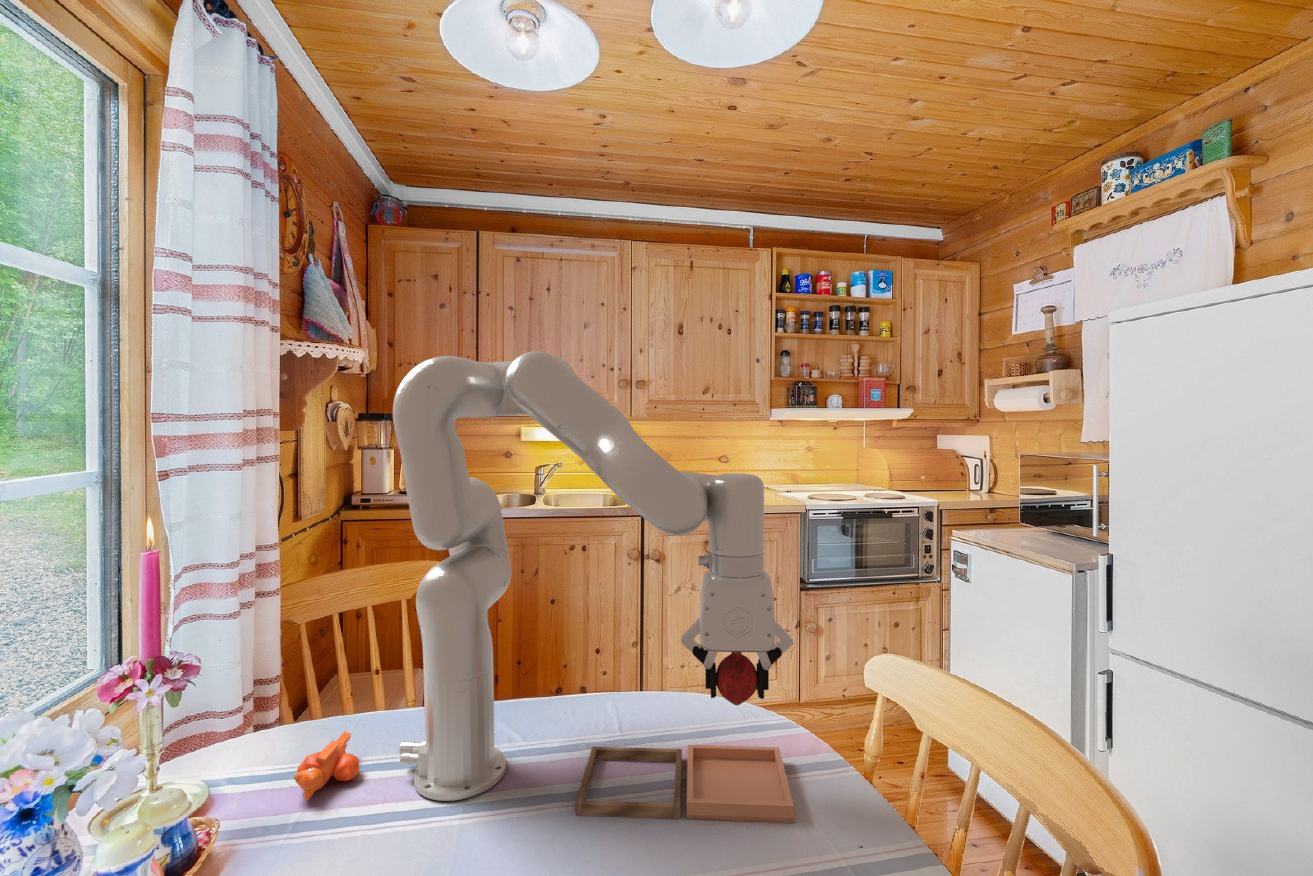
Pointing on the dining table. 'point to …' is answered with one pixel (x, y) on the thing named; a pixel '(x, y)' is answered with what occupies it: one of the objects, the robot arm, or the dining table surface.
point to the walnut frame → (621, 806)
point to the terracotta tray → (737, 784)
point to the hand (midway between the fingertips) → (736, 692)
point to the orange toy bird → (327, 766)
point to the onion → (736, 678)
